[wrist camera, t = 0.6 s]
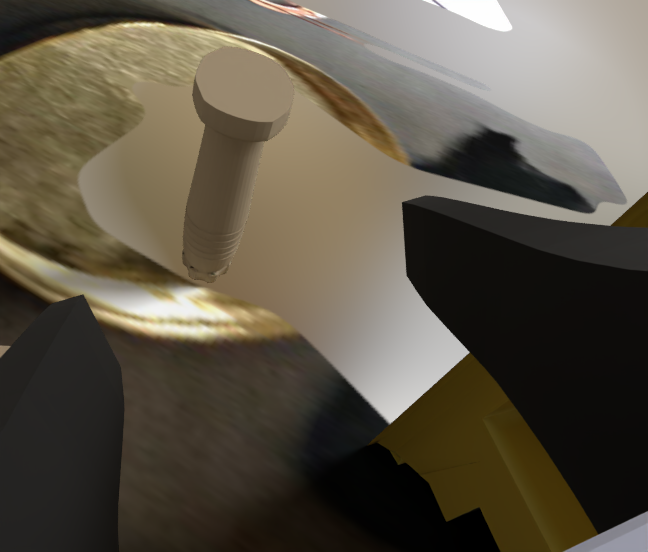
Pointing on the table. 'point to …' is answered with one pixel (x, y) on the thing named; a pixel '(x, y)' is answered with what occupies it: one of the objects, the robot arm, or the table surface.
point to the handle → (230, 151)
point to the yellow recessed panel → (491, 455)
